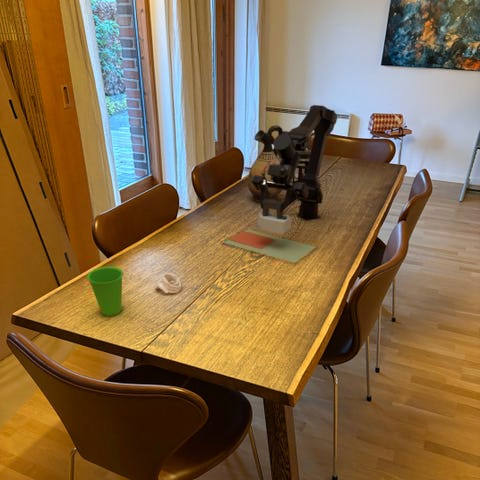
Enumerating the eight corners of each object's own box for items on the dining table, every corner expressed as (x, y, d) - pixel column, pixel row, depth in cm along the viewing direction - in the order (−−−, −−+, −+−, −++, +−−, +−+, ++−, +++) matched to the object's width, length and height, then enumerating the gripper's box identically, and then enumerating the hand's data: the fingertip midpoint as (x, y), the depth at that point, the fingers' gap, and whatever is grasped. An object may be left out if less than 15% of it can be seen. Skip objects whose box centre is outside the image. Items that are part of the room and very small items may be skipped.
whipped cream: (168, 283, 141) (166, 268, 139) (187, 286, 138) (185, 270, 136) (152, 293, 134) (150, 277, 132) (172, 297, 132) (170, 280, 129)
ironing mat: (223, 243, 163) (223, 241, 163) (247, 230, 174) (247, 228, 173) (294, 264, 150) (294, 262, 150) (316, 248, 160) (316, 246, 160)
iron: (291, 230, 159) (292, 201, 153) (282, 237, 154) (284, 207, 148) (262, 224, 163) (262, 195, 158) (253, 230, 159) (253, 201, 153)
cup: (97, 303, 129) (90, 267, 123) (130, 301, 130) (125, 265, 124) (91, 321, 122) (83, 283, 116) (126, 319, 122) (121, 282, 116)
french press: (316, 188, 216) (321, 135, 203) (310, 194, 208) (314, 140, 196) (292, 185, 220) (295, 133, 207) (285, 191, 212) (288, 137, 200)
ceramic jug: (258, 207, 194) (260, 130, 178) (241, 197, 205) (241, 123, 189) (293, 201, 201) (298, 126, 184) (274, 191, 212) (277, 120, 196)
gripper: (254, 149, 152) (237, 193, 150) (307, 157, 144) (290, 203, 142) (264, 168, 162) (249, 209, 160) (315, 176, 154) (299, 219, 152)
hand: (270, 210), depth 153 cm, fingers closed on iron, 7 cm apart
